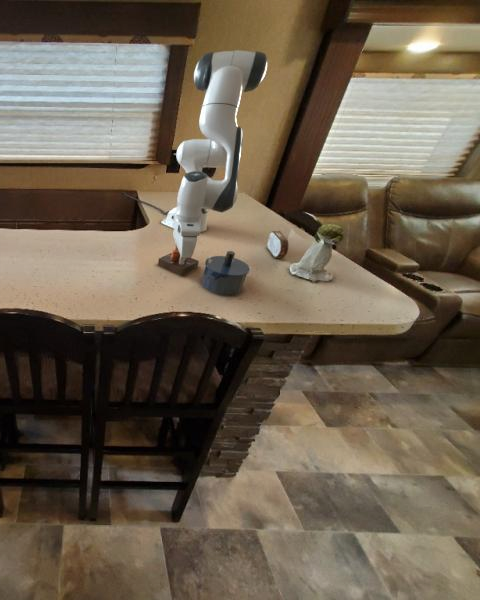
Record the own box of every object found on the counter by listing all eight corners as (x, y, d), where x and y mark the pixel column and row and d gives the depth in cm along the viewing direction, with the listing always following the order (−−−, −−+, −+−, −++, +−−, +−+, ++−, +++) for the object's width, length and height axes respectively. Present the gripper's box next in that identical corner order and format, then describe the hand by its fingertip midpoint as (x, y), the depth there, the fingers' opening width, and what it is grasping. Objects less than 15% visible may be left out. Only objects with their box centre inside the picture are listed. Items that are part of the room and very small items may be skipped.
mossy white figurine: (281, 266, 112) (301, 219, 102) (313, 264, 113) (335, 218, 102) (303, 282, 102) (328, 232, 92) (338, 280, 103) (366, 230, 93)
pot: (189, 286, 101) (194, 267, 97) (217, 270, 110) (223, 252, 106) (224, 303, 93) (231, 282, 89) (251, 284, 102) (258, 264, 98)
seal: (171, 260, 111) (173, 251, 109) (171, 258, 112) (172, 249, 110) (186, 260, 110) (188, 251, 108) (185, 258, 112) (187, 249, 110)
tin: (283, 262, 115) (292, 242, 110) (275, 261, 116) (283, 241, 111) (271, 246, 127) (278, 227, 123) (263, 245, 128) (270, 227, 123)
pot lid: (196, 266, 98) (200, 251, 95) (218, 255, 105) (222, 240, 102) (235, 282, 90) (241, 266, 86) (256, 269, 97) (262, 253, 93)
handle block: (157, 265, 114) (158, 258, 112) (173, 258, 119) (174, 250, 117) (181, 276, 107) (183, 268, 105) (197, 267, 112) (199, 260, 110)
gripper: (172, 212, 112) (167, 246, 120) (181, 232, 95) (174, 270, 103) (189, 212, 111) (182, 246, 119) (202, 233, 95) (193, 270, 102)
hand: (179, 257), depth 111 cm, fingers open, 8 cm apart
